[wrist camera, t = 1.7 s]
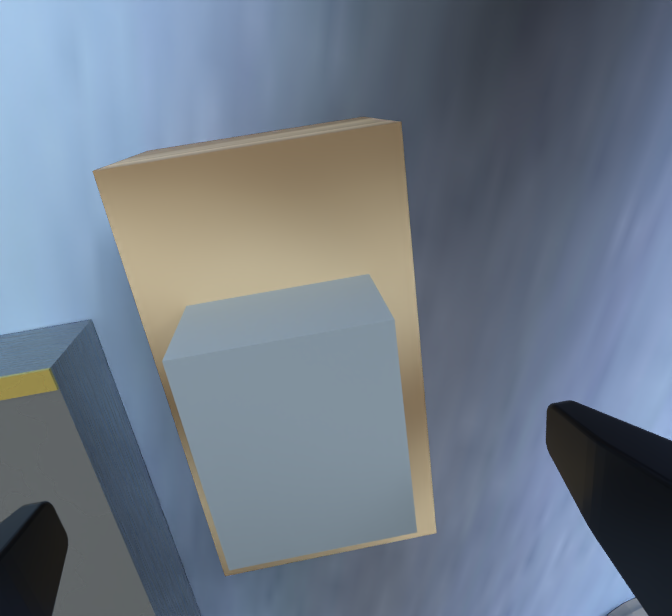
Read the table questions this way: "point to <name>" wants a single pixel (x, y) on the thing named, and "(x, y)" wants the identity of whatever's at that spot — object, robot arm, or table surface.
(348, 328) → the grey blue block
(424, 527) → the tan stepped block
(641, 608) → the coffee cup
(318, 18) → the table surface
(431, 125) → the table surface
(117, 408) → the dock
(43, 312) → the table surface
